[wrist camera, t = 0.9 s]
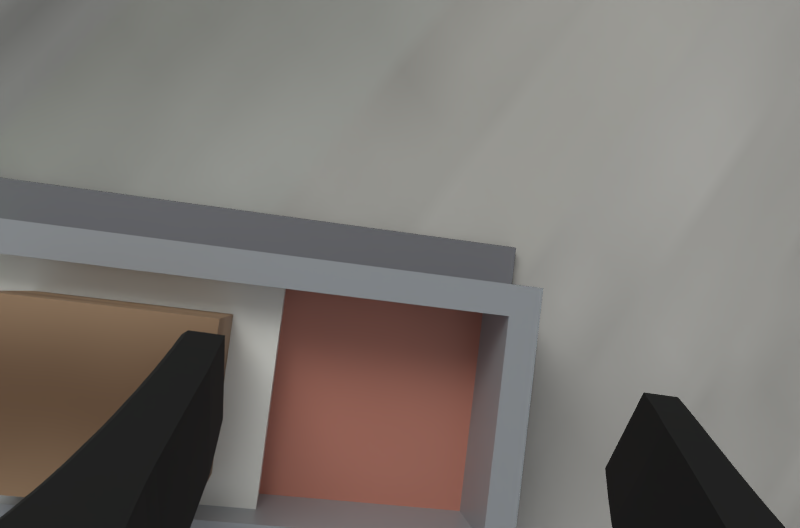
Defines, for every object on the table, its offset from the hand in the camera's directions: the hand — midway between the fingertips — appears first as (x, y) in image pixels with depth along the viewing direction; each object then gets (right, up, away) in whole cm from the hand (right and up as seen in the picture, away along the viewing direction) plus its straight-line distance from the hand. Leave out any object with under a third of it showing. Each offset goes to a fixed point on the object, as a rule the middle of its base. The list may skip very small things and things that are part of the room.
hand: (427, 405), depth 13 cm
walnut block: (-9, -1, +10) cm, 13 cm away
